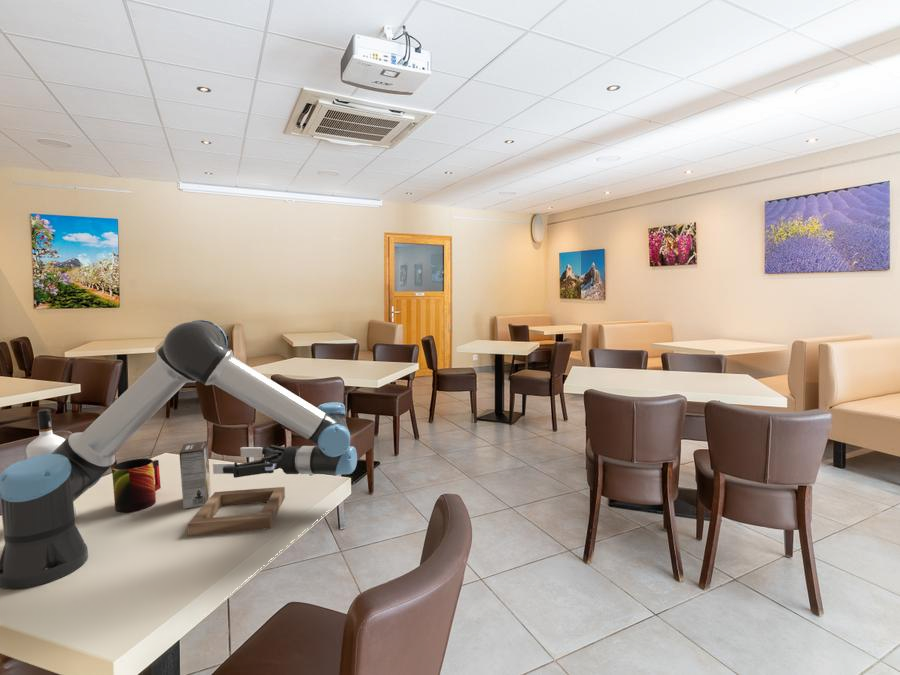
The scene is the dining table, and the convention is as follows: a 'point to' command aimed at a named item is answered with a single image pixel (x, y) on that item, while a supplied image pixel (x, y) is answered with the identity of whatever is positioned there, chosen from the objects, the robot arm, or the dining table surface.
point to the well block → (210, 525)
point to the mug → (135, 484)
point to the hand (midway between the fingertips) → (228, 459)
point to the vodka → (44, 438)
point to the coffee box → (195, 474)
